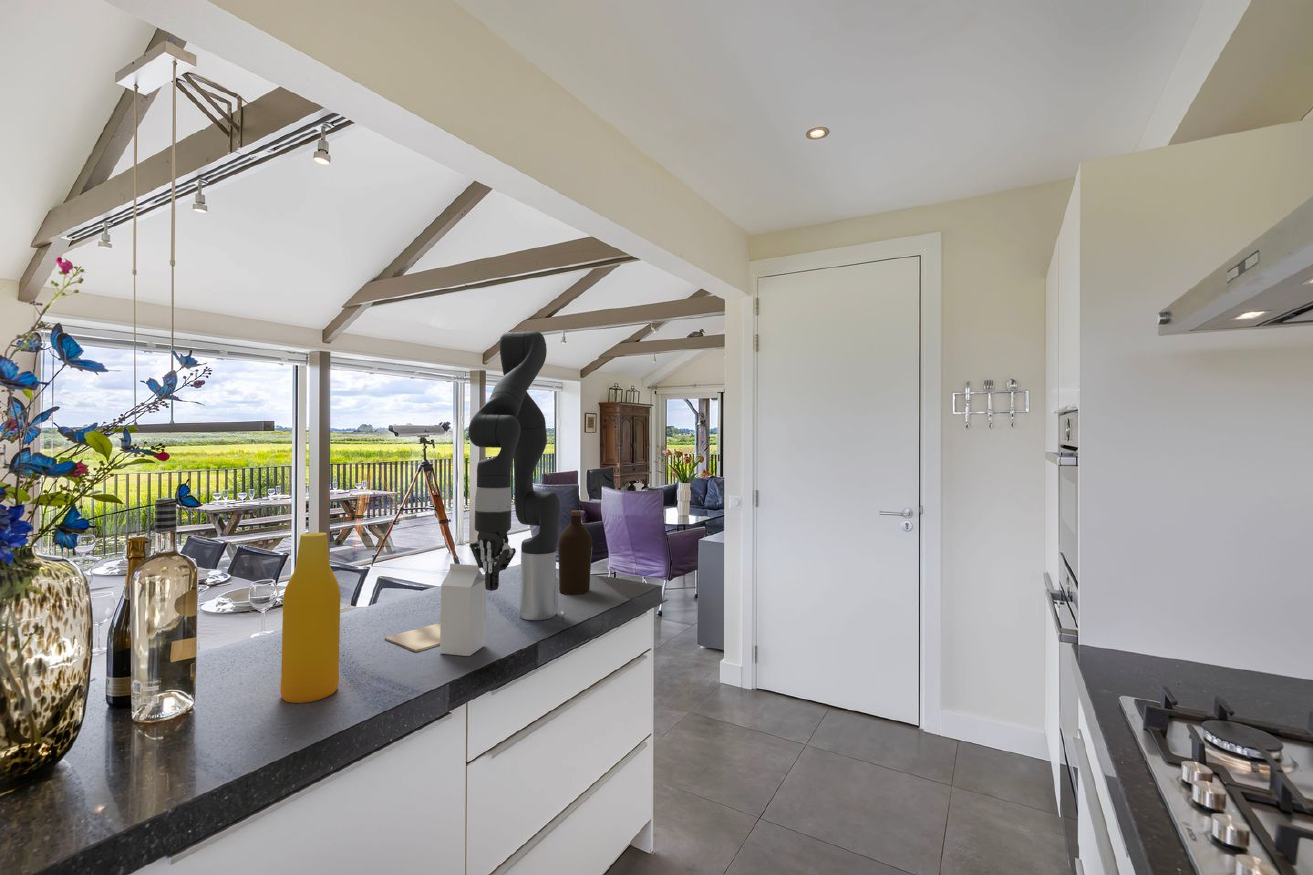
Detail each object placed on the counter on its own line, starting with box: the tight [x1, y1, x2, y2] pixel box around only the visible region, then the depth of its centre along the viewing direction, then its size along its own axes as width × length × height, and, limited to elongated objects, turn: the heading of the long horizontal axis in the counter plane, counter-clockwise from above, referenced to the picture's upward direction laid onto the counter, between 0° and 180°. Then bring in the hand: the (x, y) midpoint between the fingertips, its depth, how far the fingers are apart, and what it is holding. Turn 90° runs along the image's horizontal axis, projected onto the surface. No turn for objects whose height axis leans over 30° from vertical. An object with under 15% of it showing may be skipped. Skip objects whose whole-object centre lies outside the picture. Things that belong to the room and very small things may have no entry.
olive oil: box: [557, 510, 593, 596], centre depth 185 cm, size 11×11×25 cm
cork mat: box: [383, 622, 441, 653], centre depth 140 cm, size 15×13×1 cm
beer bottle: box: [279, 532, 342, 704], centre depth 109 cm, size 9×9×29 cm
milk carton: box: [439, 563, 487, 657], centre depth 132 cm, size 7×7×19 cm
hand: (491, 589), depth 126 cm, fingers closed
